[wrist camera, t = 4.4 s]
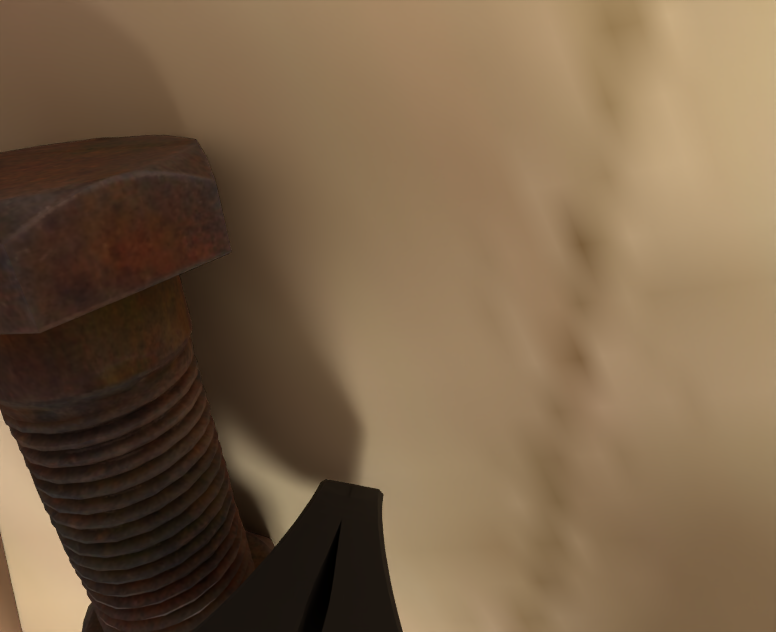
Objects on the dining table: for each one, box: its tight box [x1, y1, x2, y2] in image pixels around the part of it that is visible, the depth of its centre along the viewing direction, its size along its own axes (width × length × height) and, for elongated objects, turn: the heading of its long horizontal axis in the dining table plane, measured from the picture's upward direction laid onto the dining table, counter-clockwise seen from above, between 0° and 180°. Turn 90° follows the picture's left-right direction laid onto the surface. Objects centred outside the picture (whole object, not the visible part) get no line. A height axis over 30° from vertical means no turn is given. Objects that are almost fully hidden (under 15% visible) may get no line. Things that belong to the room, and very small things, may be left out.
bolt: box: [0, 135, 275, 632], centre depth 12 cm, size 6×5×15 cm
